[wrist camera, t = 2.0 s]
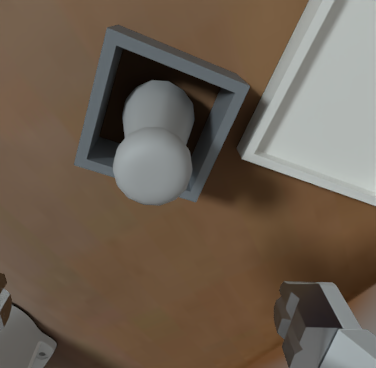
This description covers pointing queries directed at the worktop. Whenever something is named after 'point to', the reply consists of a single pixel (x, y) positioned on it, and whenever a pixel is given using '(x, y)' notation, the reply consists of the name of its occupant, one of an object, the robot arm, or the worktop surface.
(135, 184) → the salt shaker
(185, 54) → the hollow square frame
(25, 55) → the worktop surface
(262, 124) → the tray
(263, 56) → the worktop surface
